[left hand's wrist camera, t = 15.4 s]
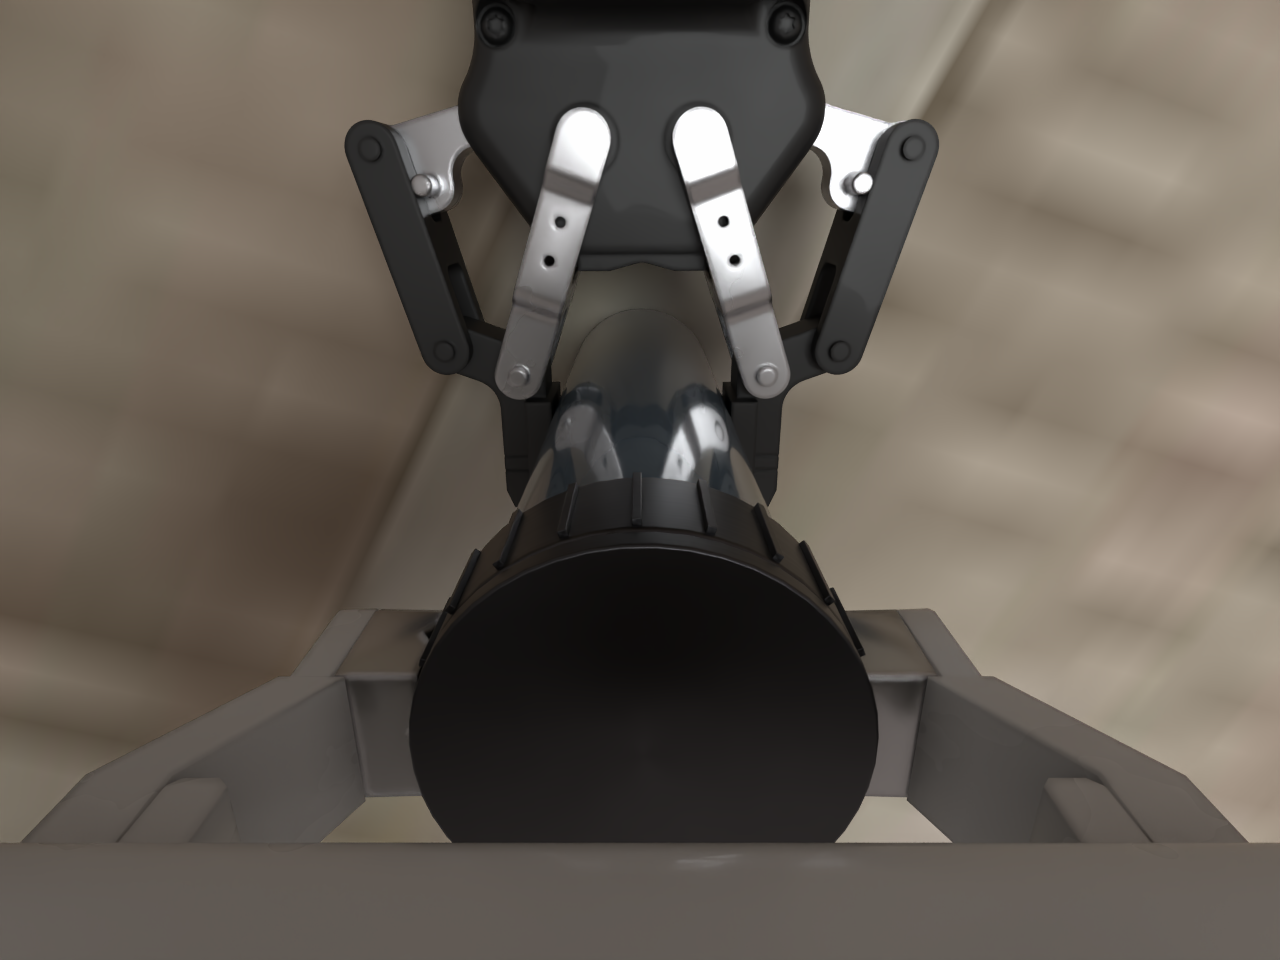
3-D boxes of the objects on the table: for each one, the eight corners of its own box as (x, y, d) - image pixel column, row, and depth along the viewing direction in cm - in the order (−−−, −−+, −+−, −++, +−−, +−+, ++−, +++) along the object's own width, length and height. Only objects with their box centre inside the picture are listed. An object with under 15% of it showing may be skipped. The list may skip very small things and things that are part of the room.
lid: (453, 799, 11) (416, 920, 9) (433, 459, 9) (380, 527, 7) (812, 811, 11) (846, 935, 9) (869, 478, 9) (926, 548, 7)
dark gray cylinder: (547, 365, 26) (368, 693, 9) (652, 280, 25) (680, 464, 8) (631, 463, 27) (615, 914, 10) (734, 386, 26) (910, 744, 9)
